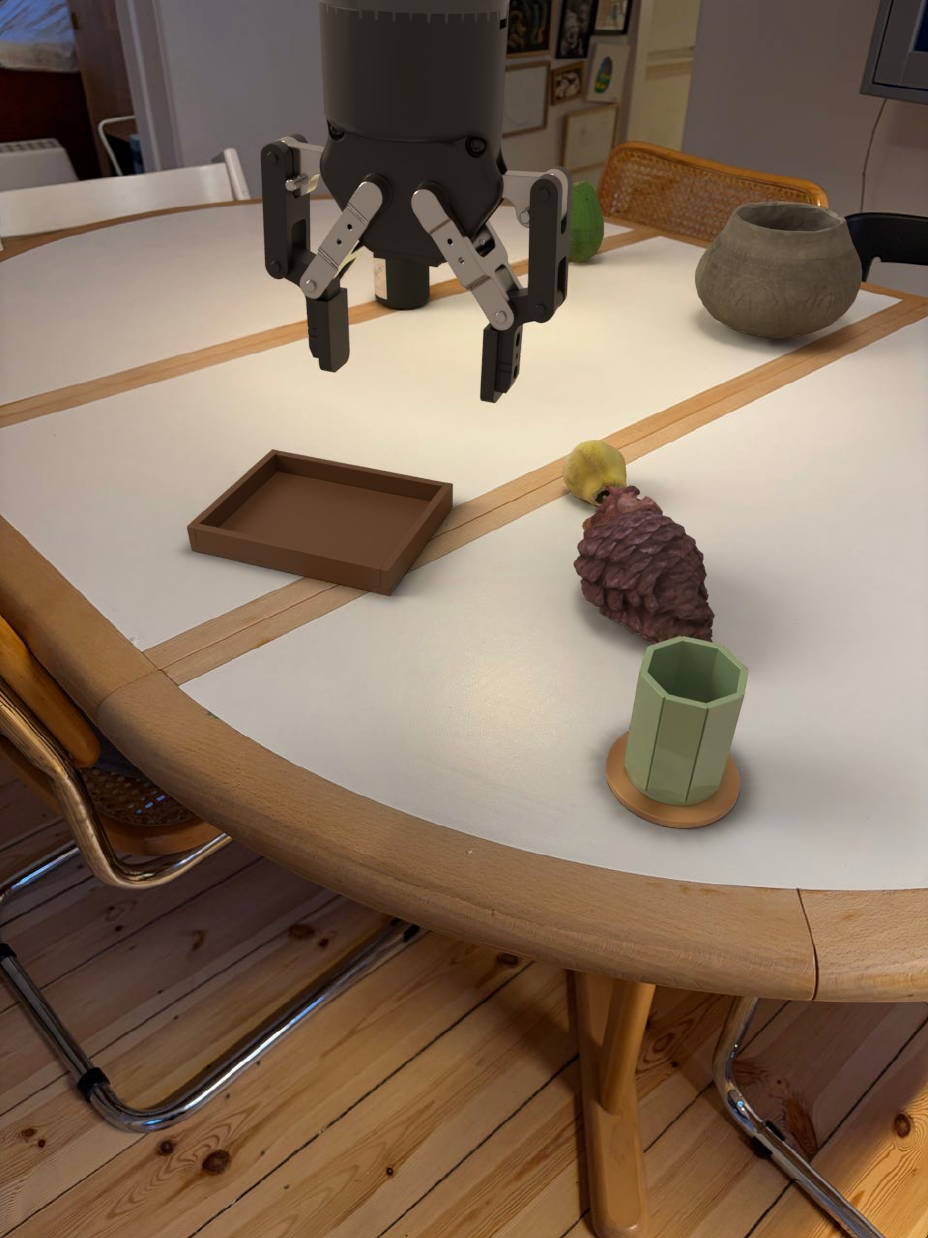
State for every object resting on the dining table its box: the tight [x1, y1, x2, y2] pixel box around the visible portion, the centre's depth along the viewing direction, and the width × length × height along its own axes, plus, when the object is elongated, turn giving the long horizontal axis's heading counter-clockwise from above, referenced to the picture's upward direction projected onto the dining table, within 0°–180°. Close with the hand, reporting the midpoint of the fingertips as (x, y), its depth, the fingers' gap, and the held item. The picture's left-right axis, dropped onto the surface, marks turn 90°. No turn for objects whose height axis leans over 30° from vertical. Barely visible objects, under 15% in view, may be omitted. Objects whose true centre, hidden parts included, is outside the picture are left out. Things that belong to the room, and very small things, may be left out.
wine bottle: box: [372, 252, 431, 310], centre depth 127 cm, size 8×8×30 cm
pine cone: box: [572, 484, 716, 645], centre depth 75 cm, size 18×10×10 cm
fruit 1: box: [569, 180, 605, 263], centre depth 148 cm, size 8×8×12 cm
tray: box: [186, 448, 454, 596], centre depth 87 cm, size 20×16×3 cm
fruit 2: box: [562, 439, 628, 506], centre depth 91 cm, size 6×6×10 cm
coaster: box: [605, 730, 741, 829], centre depth 64 cm, size 9×9×1 cm
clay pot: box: [694, 200, 863, 339], centre depth 125 cm, size 22×21×15 cm
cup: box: [624, 636, 750, 806], centre depth 61 cm, size 6×6×9 cm
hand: (412, 381), depth 47 cm, fingers open, 8 cm apart
